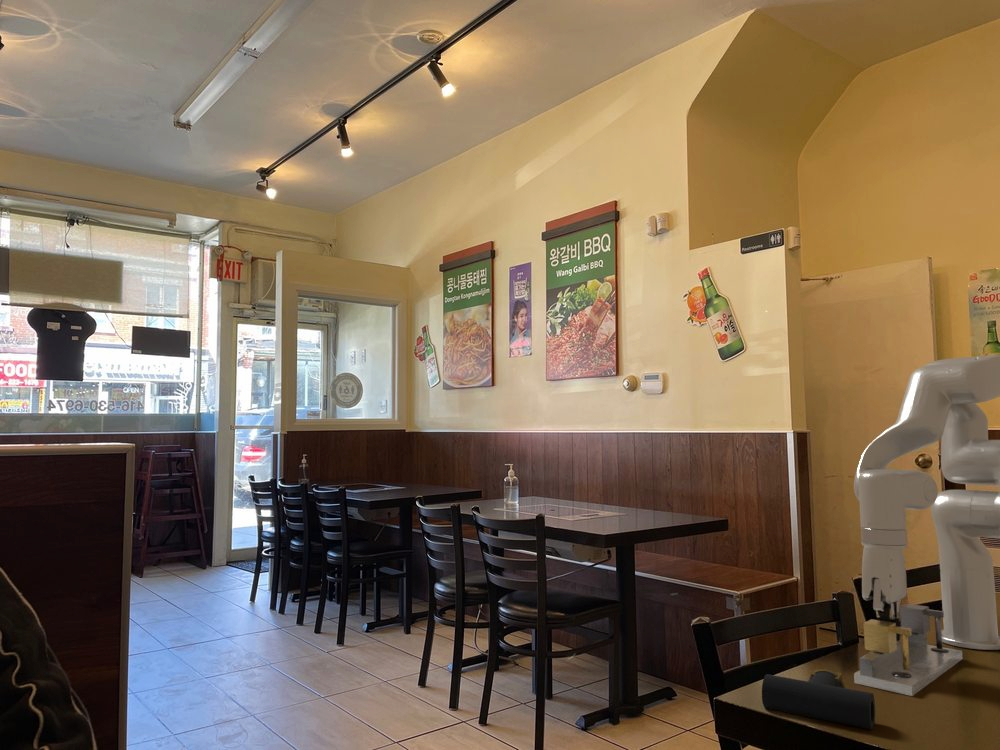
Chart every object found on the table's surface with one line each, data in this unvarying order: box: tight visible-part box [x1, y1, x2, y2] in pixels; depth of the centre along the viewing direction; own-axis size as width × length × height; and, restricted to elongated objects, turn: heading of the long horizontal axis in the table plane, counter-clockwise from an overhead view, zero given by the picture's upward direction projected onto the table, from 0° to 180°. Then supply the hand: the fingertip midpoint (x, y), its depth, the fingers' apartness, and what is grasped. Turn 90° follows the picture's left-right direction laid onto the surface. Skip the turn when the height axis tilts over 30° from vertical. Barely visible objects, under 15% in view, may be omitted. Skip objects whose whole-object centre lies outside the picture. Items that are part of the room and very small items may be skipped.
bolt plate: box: [853, 632, 964, 697], centre depth 130 cm, size 30×9×4 cm, turn 134°
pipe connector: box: [761, 668, 876, 731], centre depth 110 cm, size 12×5×15 cm
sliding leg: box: [863, 618, 912, 670], centre depth 126 cm, size 4×7×7 cm, turn 44°
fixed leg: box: [900, 603, 944, 649], centre depth 139 cm, size 4×7×7 cm, turn 44°
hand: (889, 639), depth 130 cm, fingers closed
